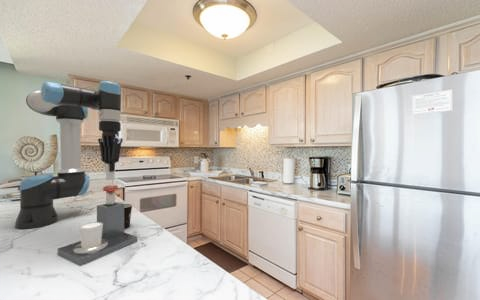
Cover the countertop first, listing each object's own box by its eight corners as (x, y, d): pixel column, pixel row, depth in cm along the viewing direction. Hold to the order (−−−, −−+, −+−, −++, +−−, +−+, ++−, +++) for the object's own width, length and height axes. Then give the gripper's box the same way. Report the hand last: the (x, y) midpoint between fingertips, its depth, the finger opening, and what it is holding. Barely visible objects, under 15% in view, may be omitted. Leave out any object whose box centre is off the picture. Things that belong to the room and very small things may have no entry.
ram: (100, 215, 87) (100, 186, 87) (113, 211, 92) (112, 184, 91) (108, 217, 85) (108, 187, 85) (120, 213, 89) (120, 185, 89)
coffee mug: (123, 231, 96) (123, 209, 96) (106, 229, 98) (106, 207, 98) (140, 222, 107) (140, 202, 107) (125, 221, 109) (125, 201, 109)
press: (57, 254, 75) (57, 214, 75) (114, 234, 93) (113, 201, 93) (80, 265, 68) (80, 221, 68) (137, 241, 86) (136, 206, 86)
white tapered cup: (87, 240, 79) (87, 222, 79) (106, 240, 80) (106, 221, 80) (74, 249, 73) (74, 229, 72) (95, 249, 73) (95, 228, 73)
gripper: (91, 121, 87) (91, 179, 88) (110, 119, 81) (110, 182, 81) (109, 122, 94) (109, 177, 94) (128, 121, 88) (129, 179, 88)
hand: (110, 179), depth 88 cm, fingers closed
